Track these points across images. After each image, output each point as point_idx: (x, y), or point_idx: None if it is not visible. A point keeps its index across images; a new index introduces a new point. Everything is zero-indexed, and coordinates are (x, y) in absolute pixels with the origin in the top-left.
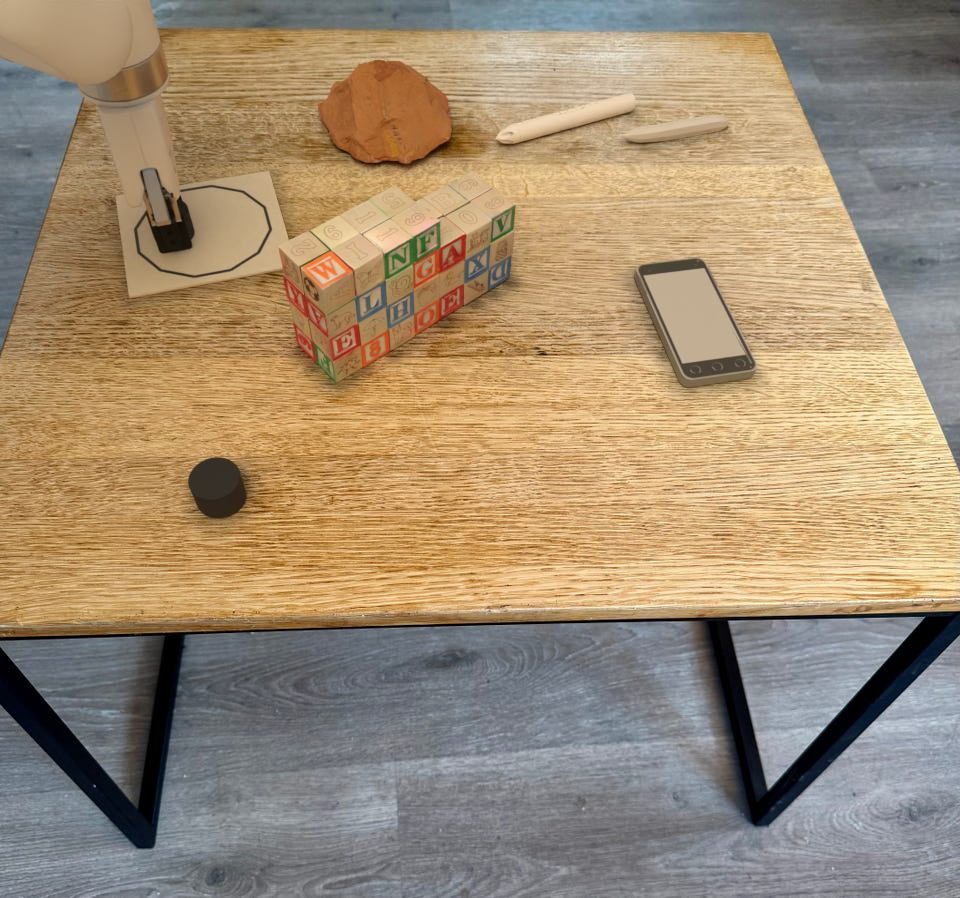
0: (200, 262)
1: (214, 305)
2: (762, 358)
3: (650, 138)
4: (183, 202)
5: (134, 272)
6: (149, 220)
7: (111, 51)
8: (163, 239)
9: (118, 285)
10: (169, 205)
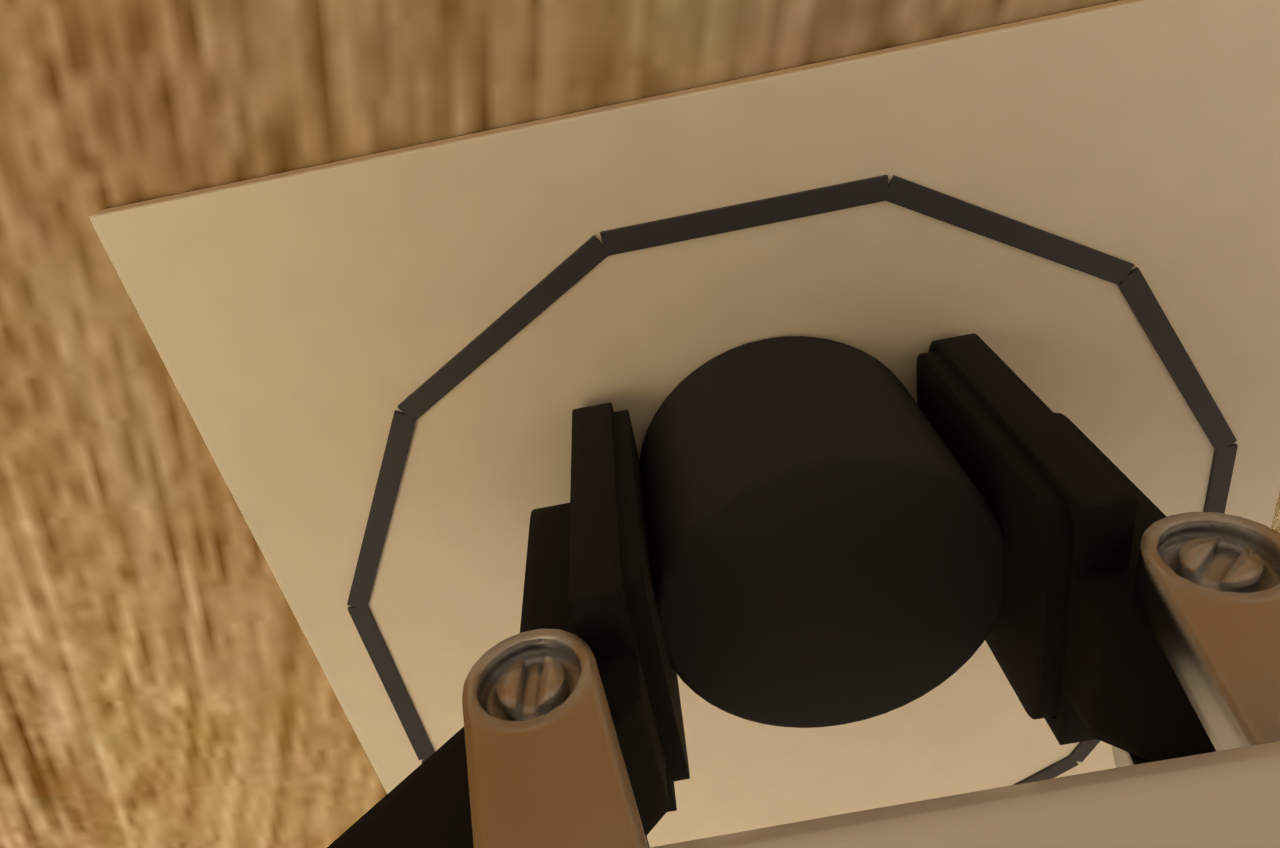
0: (490, 623)
1: (157, 691)
2: None
3: None
4: (908, 698)
5: (367, 234)
6: (603, 599)
7: None
8: (526, 567)
9: (242, 97)
10: (898, 615)
